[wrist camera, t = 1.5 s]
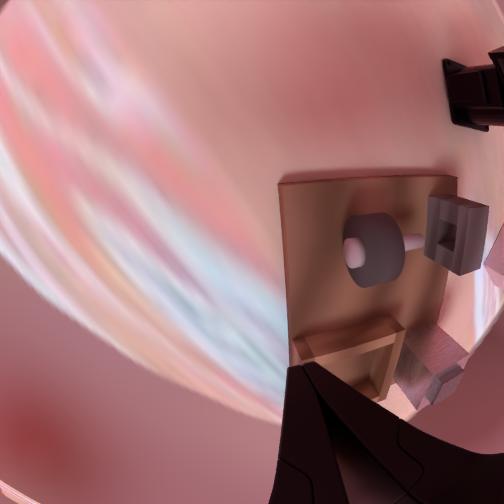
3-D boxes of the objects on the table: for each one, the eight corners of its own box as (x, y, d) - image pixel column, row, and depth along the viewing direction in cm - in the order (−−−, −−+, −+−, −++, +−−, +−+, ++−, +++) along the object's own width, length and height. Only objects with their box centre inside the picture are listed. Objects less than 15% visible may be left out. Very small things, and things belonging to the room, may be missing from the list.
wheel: (403, 202, 18) (444, 217, 14) (399, 258, 19) (435, 282, 15) (333, 209, 17) (369, 227, 13) (334, 272, 19) (365, 303, 15)
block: (434, 322, 23) (474, 358, 17) (423, 357, 25) (456, 394, 19) (397, 336, 23) (438, 380, 16) (388, 372, 24) (420, 416, 18)
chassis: (448, 175, 19) (496, 186, 14) (415, 365, 27) (441, 394, 22) (277, 183, 18) (307, 196, 12) (290, 407, 25) (305, 450, 20)
